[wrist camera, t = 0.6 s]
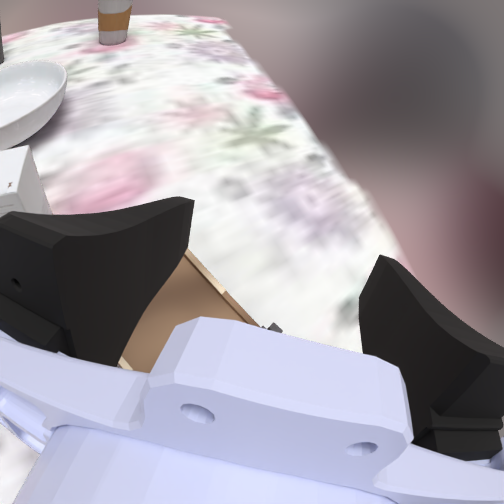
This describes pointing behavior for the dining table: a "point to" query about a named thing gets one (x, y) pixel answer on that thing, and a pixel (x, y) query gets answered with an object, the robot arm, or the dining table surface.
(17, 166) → the small box
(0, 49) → the liquor
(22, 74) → the serving bowl
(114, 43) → the coffee cup
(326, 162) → the dining table surface
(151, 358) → the beam
